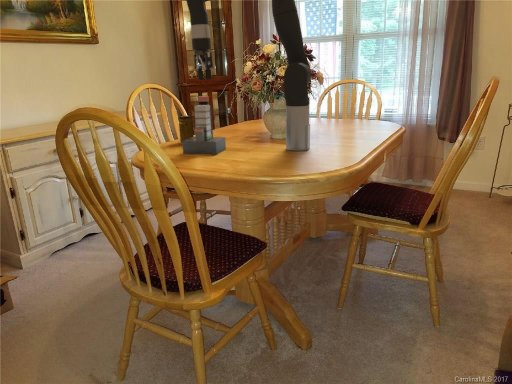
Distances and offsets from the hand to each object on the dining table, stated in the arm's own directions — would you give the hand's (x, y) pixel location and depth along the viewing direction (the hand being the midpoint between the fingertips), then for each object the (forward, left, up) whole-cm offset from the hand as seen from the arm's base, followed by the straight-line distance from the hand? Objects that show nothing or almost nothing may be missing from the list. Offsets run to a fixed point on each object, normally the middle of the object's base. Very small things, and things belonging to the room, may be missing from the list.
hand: (204, 79), depth 168 cm
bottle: (+7, -15, -28) cm, 32 cm away
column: (-3, +10, -22) cm, 25 cm away
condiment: (+13, -8, -28) cm, 32 cm away
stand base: (-3, +10, -28) cm, 30 cm away
